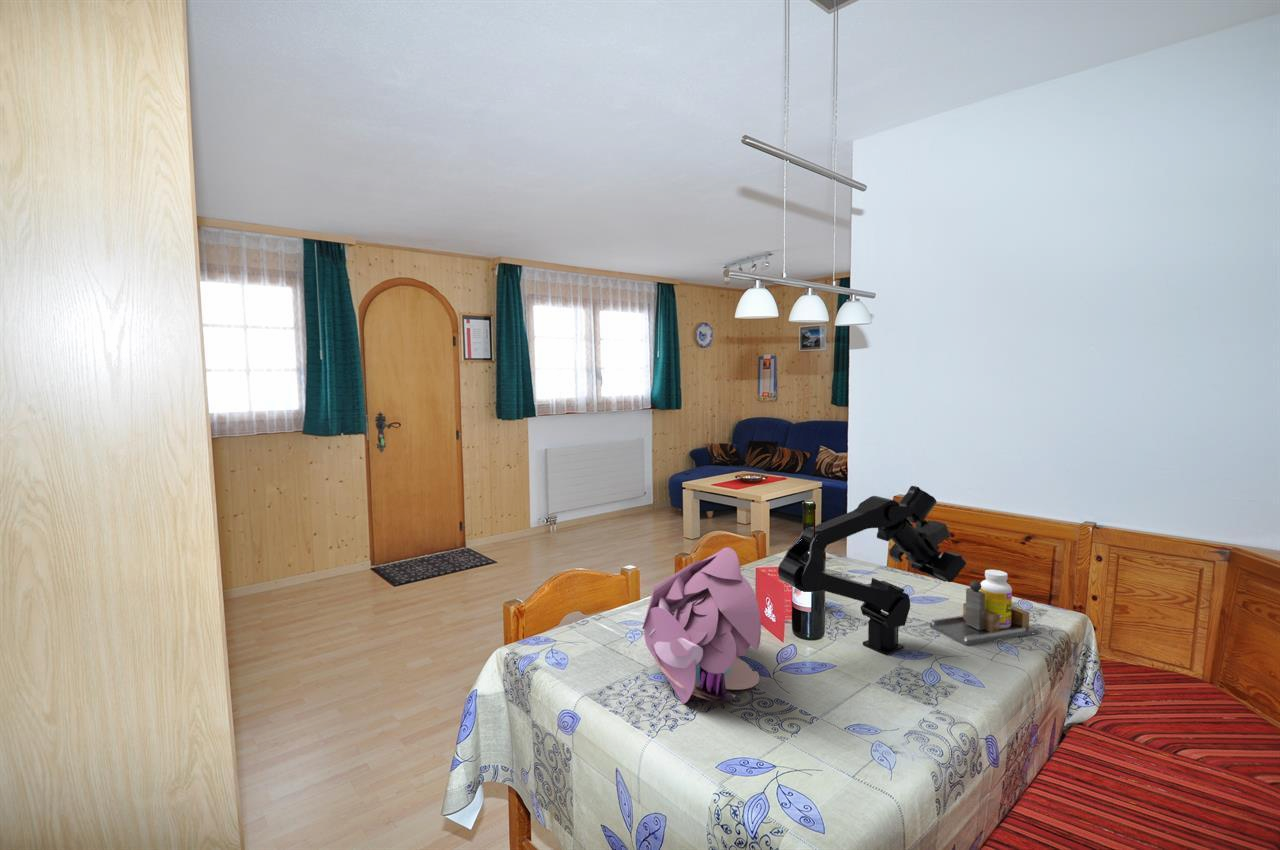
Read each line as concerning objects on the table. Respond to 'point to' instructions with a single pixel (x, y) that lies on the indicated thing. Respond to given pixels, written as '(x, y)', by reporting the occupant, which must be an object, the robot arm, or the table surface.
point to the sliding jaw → (979, 610)
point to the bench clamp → (971, 635)
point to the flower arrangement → (704, 628)
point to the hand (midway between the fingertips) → (945, 579)
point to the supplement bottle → (998, 596)
